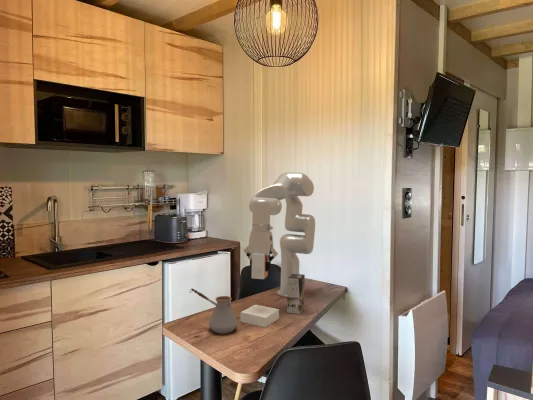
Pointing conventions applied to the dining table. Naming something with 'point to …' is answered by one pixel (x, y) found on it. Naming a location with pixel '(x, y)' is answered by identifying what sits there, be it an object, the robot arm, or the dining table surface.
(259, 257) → the small box
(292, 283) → the coffee box
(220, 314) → the coffee pot
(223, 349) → the dining table surface
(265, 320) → the cream white block
